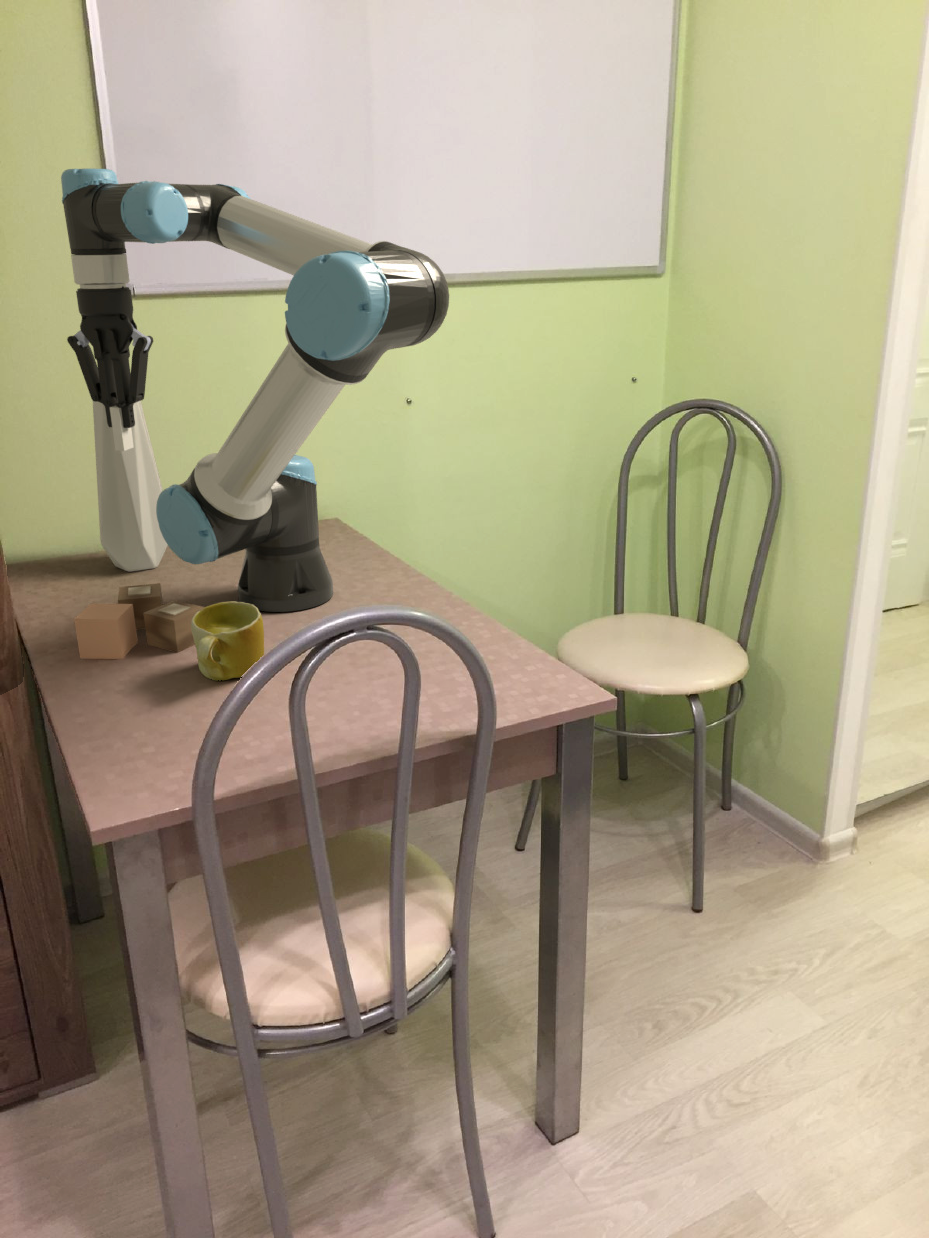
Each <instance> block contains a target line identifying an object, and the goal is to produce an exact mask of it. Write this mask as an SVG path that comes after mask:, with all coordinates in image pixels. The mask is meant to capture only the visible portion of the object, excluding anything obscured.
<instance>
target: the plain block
mask: <svg viewBox="0 0 929 1238" xmlns="http://www.w3.org/2000/svg"><path fill="white" fill-rule="evenodd" d="M73 621H74V625H75V634H76V639H77V644H78V645H77V646H78V653H79V657H80V659H94V660H95V659H97V660H98V659H100V660H101V659H104V660H105V659H106V660H108V659H109V660H116V659H117V660H123V659H124V658H125V657H126V656H127V655H128V654H129V652H130V651H131V650H133V648H134V647H135V646H136V645H137V644H138V641H139V640H138V635H137V634H138V633H137V629H136V626H135V618H134V611H133V604H118V603H90V604H89V605H88V606H86V608H85V609H83V610H82V611H81V612H80V613H79V614H77V615H76V616H75V617H74V619H73Z"/></svg>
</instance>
